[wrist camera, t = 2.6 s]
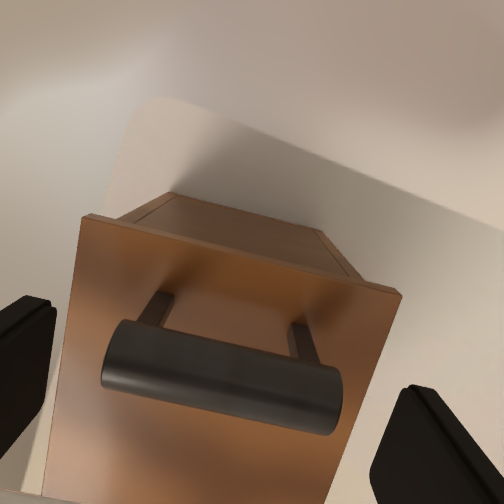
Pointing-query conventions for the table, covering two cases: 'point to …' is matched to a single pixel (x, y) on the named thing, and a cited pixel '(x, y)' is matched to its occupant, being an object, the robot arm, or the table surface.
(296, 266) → the lid
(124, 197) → the table surface
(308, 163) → the table surface
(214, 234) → the bread box
